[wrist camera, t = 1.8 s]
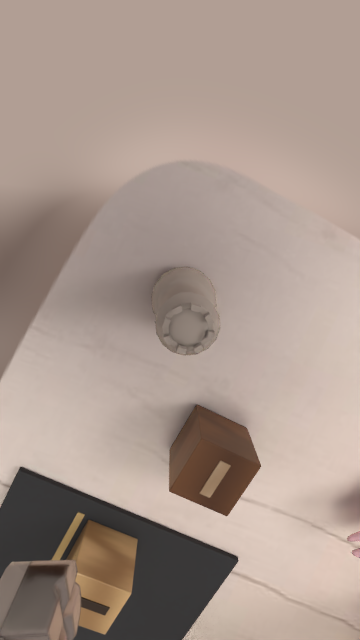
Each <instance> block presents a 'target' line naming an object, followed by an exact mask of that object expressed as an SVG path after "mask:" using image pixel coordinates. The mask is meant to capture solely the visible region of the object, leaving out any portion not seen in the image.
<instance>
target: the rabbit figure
mask: <svg viewBox="0 0 360 640" xmlns="http://www.w3.org/2000/svg"><path fill="white" fill-rule="evenodd" d="M347 540H348V541H360V531H359V532H356V533H354V534H351V535H350V536H348V538H347ZM352 554H353V555H354V556H356V557H358V558H360V548H358V549H355V550H353V551H352Z"/></svg>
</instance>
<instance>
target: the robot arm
mask: <svg viewBox="0 0 360 640" xmlns="http://www.w3.org/2000/svg"><path fill="white" fill-rule="evenodd" d="M77 572H78V570H77V565H76V560H49V561H21V562H11V563H10V565H9V566H8V567H7V568H6V569H5V571H4V573H3V575H2V577H1V579H0V640H73V639H74V637H75V636H76V633H77V629H78V625H79V620H80V612H81V589H80V585H79V584H78V583H77V582H75V579H76V576H77Z"/></svg>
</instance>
